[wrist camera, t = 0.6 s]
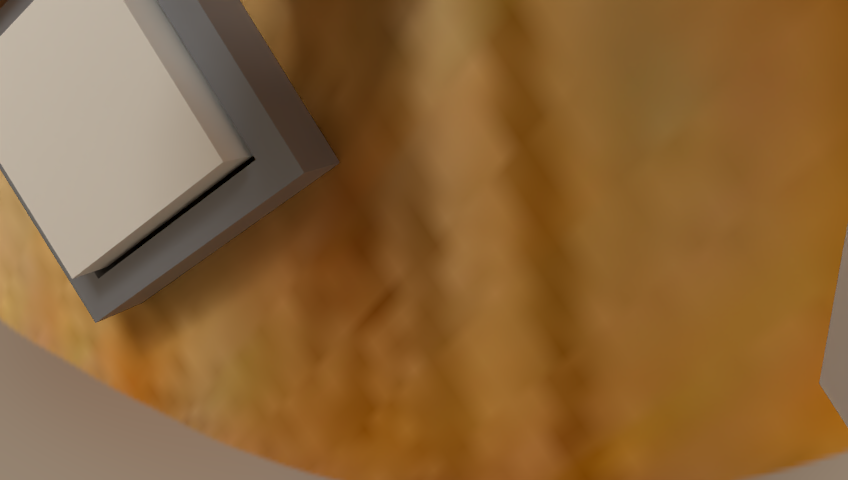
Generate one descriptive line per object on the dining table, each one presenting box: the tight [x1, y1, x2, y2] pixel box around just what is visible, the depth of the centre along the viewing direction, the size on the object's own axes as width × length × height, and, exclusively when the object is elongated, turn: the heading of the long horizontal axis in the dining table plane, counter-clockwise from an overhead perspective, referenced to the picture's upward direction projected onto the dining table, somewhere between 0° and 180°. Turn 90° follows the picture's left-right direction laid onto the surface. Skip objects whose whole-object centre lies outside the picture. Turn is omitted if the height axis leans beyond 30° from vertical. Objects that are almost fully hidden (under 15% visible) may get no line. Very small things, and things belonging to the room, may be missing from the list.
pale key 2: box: [0, 0, 253, 279], centre depth 31 cm, size 9×9×2 cm
